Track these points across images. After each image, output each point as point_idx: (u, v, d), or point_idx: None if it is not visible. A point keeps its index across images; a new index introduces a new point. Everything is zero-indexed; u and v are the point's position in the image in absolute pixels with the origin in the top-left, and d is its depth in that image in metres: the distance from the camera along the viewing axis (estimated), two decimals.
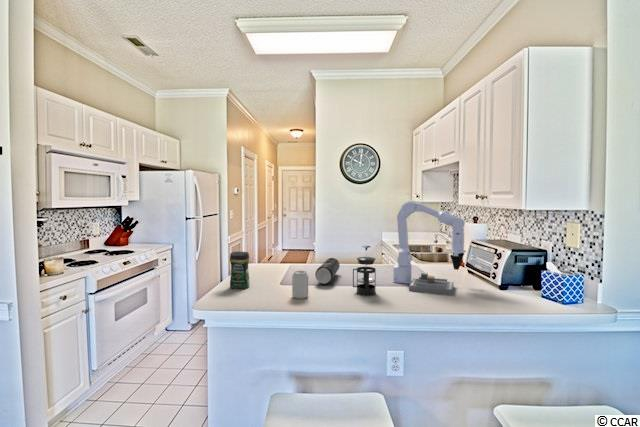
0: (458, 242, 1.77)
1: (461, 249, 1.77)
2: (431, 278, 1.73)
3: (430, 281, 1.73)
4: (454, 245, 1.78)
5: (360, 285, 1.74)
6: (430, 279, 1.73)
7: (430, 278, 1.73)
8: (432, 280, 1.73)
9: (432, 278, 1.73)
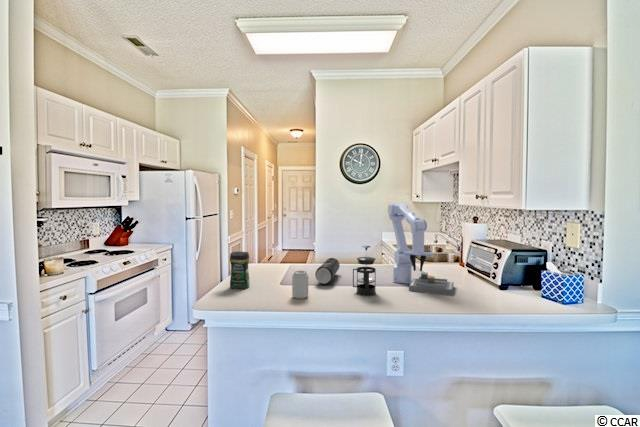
0: (412, 243, 1.77)
1: (413, 251, 1.75)
2: (431, 278, 1.73)
3: (430, 281, 1.73)
4: None
5: (360, 285, 1.74)
6: (430, 279, 1.73)
7: (430, 278, 1.73)
8: (432, 280, 1.73)
9: (432, 278, 1.73)
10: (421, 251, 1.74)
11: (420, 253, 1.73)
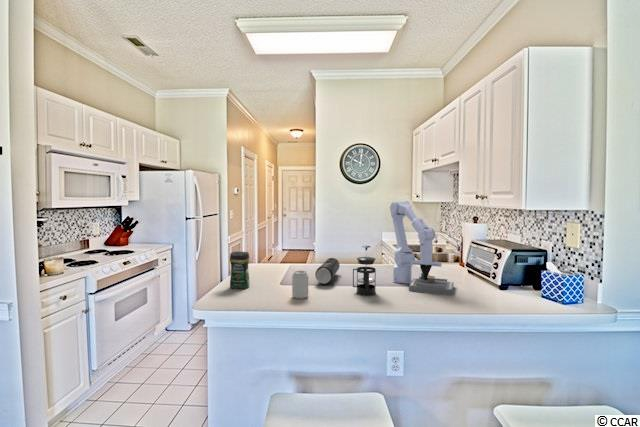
0: (420, 252, 1.75)
1: (421, 260, 1.74)
2: (431, 278, 1.73)
3: (430, 281, 1.73)
4: None
5: (360, 285, 1.74)
6: (430, 279, 1.73)
7: (430, 278, 1.73)
8: (432, 280, 1.73)
9: (432, 278, 1.73)
10: (429, 260, 1.72)
11: (428, 262, 1.72)
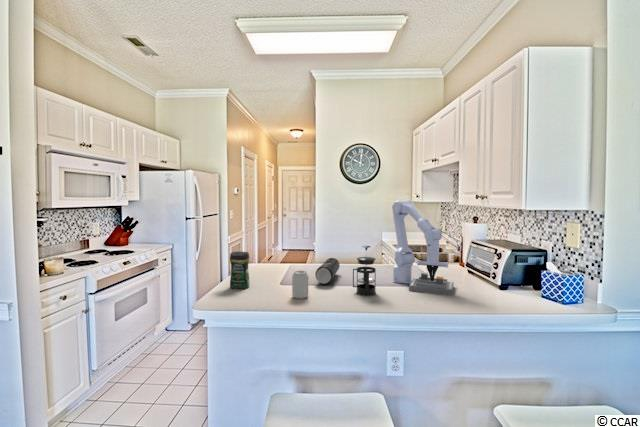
0: None
1: (428, 261, 1.73)
2: (440, 279, 1.72)
3: (439, 282, 1.72)
4: None
5: (360, 285, 1.74)
6: (439, 280, 1.72)
7: (439, 279, 1.72)
8: (441, 281, 1.71)
9: (441, 279, 1.71)
10: (436, 261, 1.71)
11: (435, 263, 1.71)
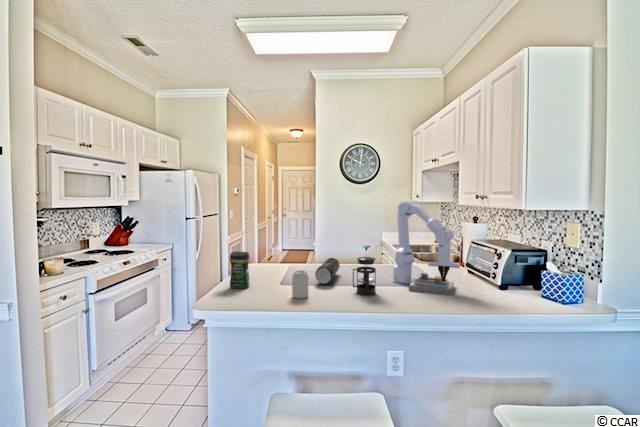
0: (438, 254, 1.72)
1: (439, 261, 1.71)
2: (438, 279, 1.72)
3: (437, 282, 1.72)
4: None
5: (360, 285, 1.74)
6: (437, 280, 1.72)
7: (437, 279, 1.72)
8: (439, 281, 1.72)
9: (439, 279, 1.72)
10: (447, 262, 1.69)
11: (446, 264, 1.69)
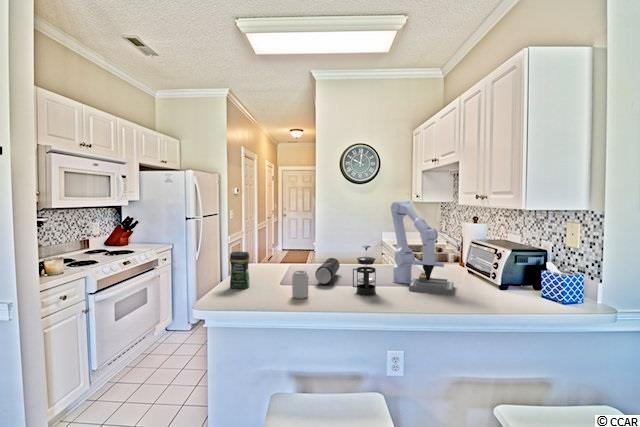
0: None
1: (424, 260, 1.74)
2: (422, 277, 1.75)
3: (421, 280, 1.75)
4: None
5: (360, 285, 1.74)
6: (421, 278, 1.75)
7: (421, 277, 1.75)
8: (423, 279, 1.75)
9: (423, 277, 1.75)
10: (432, 261, 1.72)
11: (431, 263, 1.72)
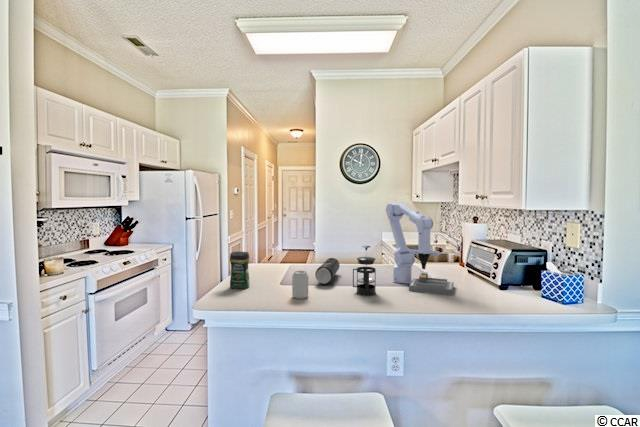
0: (418, 241, 1.76)
1: (419, 249, 1.75)
2: (422, 277, 1.75)
3: (421, 280, 1.75)
4: None
5: (360, 285, 1.74)
6: (421, 278, 1.75)
7: (421, 277, 1.75)
8: (423, 279, 1.75)
9: (423, 277, 1.75)
10: (427, 249, 1.74)
11: (426, 251, 1.73)
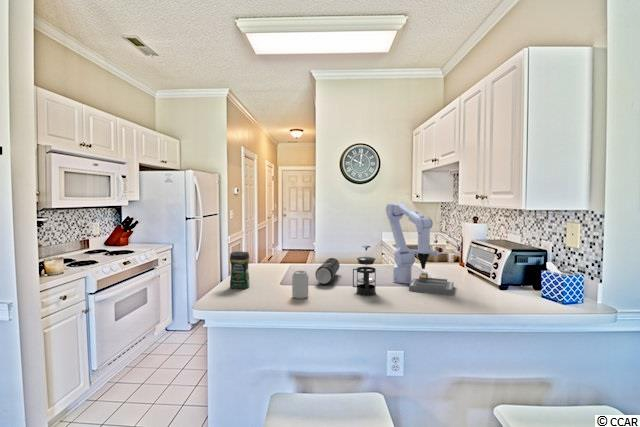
0: None
1: (419, 249, 1.75)
2: (422, 277, 1.75)
3: (421, 280, 1.75)
4: None
5: (360, 285, 1.74)
6: (421, 278, 1.75)
7: (421, 277, 1.75)
8: (423, 279, 1.75)
9: (423, 277, 1.75)
10: (427, 249, 1.74)
11: (426, 251, 1.73)
